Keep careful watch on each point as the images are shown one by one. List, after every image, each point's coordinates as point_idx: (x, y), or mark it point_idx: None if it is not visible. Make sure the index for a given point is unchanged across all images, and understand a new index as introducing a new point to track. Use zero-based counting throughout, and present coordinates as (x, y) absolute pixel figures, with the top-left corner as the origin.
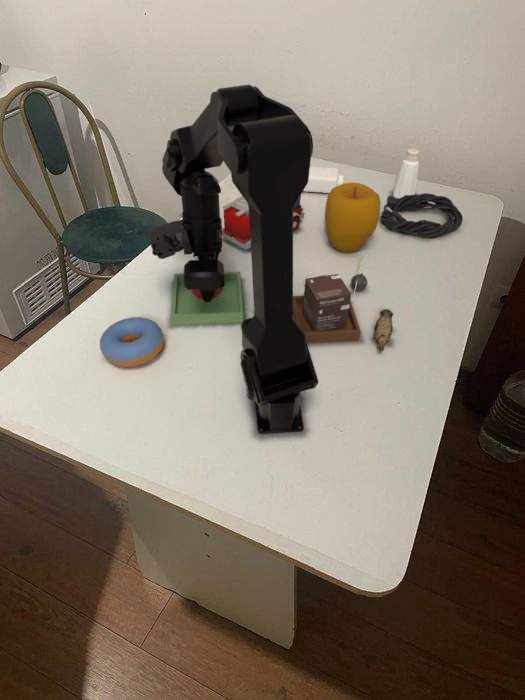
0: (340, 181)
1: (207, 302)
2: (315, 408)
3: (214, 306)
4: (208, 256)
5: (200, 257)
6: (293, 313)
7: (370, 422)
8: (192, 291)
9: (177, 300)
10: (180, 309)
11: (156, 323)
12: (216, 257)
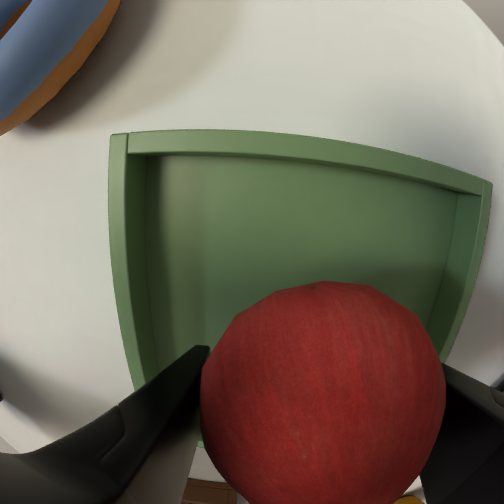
0: None
1: None
2: (2, 406)
3: None
4: (463, 479)
5: (494, 441)
6: (194, 485)
7: (16, 437)
8: (264, 301)
9: (324, 167)
10: (235, 179)
11: (16, 83)
12: (430, 498)
